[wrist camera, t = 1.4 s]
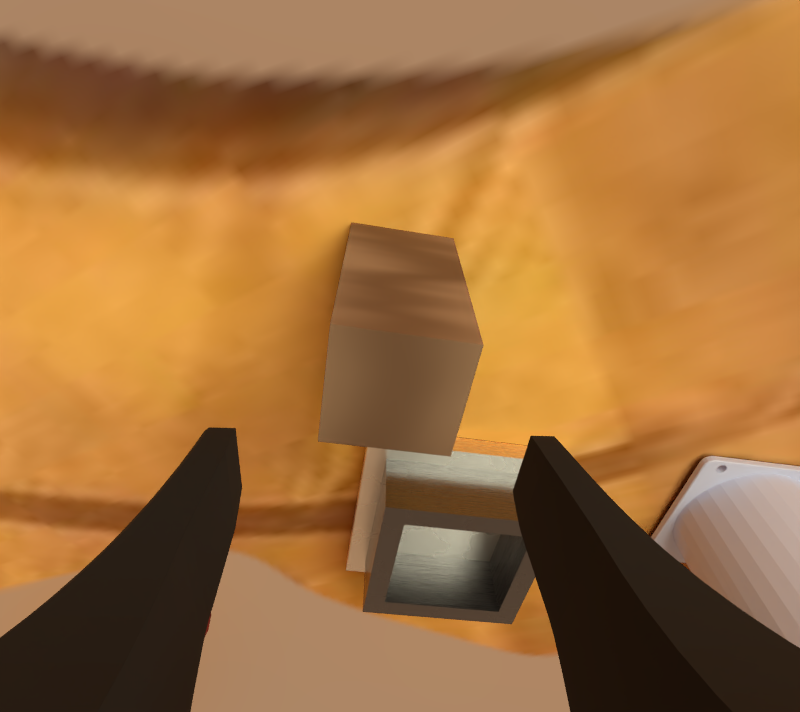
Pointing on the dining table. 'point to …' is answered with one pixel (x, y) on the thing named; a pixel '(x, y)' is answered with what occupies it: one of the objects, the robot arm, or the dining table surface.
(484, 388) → the dining table surface
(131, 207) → the dining table surface
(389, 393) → the rail post
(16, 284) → the dining table surface
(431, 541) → the grey square socket
